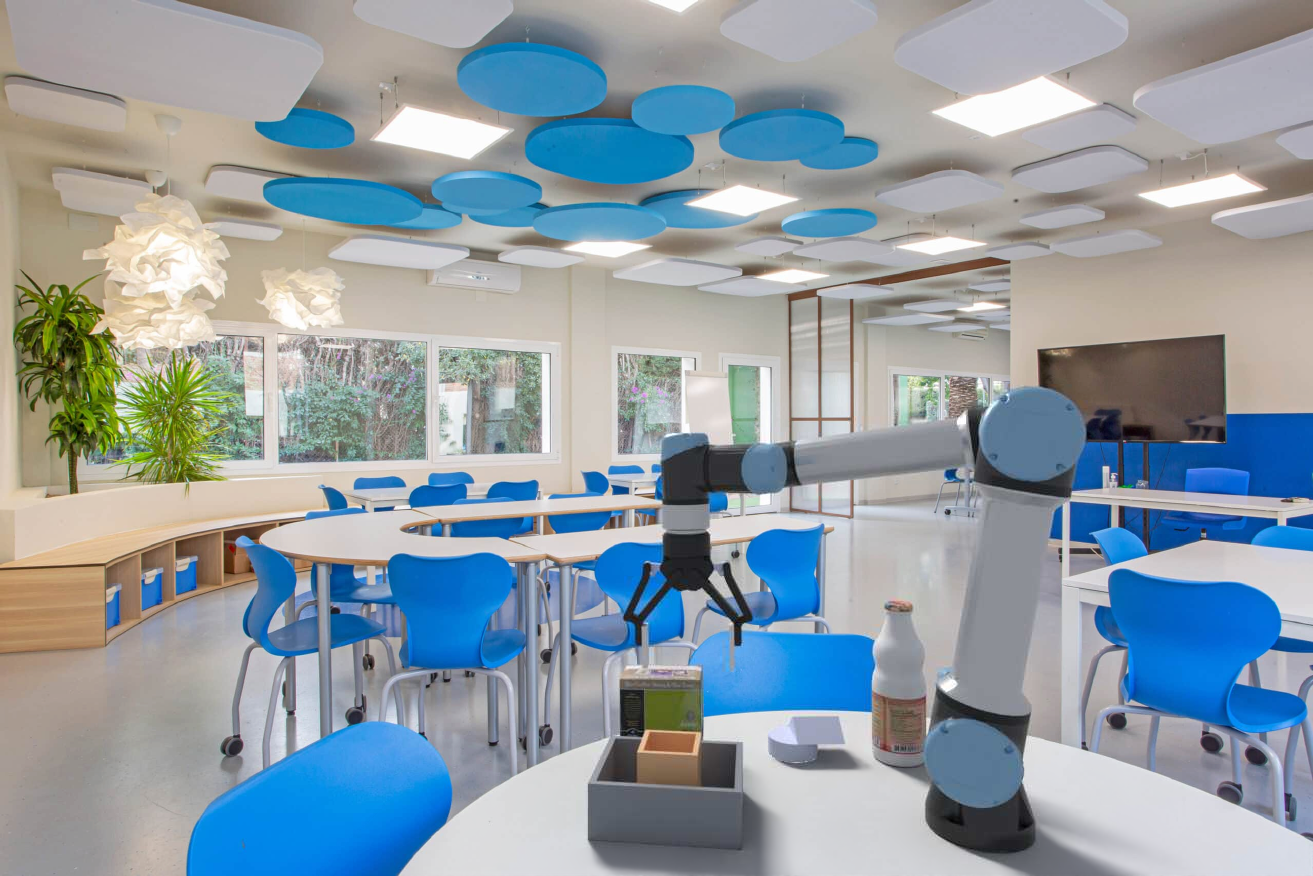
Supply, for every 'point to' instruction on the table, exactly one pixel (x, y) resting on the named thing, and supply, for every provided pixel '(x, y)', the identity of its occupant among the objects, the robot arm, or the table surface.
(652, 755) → the small crate
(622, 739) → the large crate
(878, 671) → the fruit juice
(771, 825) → the table surface
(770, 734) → the wedge on round base
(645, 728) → the tea box
